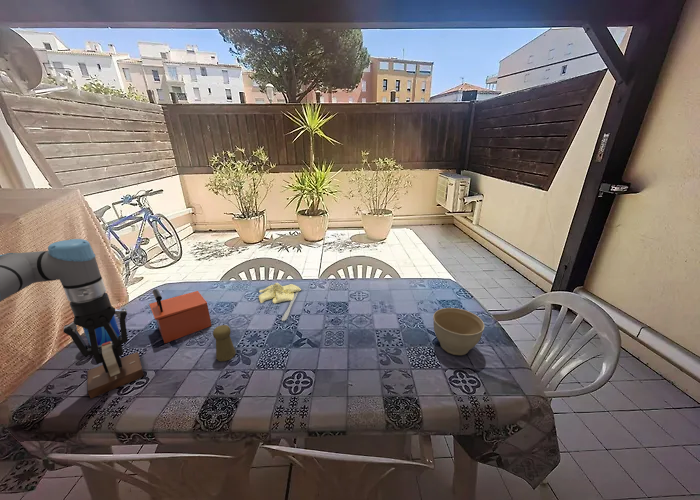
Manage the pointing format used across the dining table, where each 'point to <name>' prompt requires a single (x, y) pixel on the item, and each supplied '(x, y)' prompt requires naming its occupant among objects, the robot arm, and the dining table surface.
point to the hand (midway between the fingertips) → (113, 367)
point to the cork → (223, 343)
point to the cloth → (278, 293)
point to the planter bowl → (457, 330)
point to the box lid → (175, 304)
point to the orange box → (184, 323)
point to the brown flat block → (104, 383)
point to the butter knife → (289, 308)
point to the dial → (110, 358)
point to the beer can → (103, 333)
